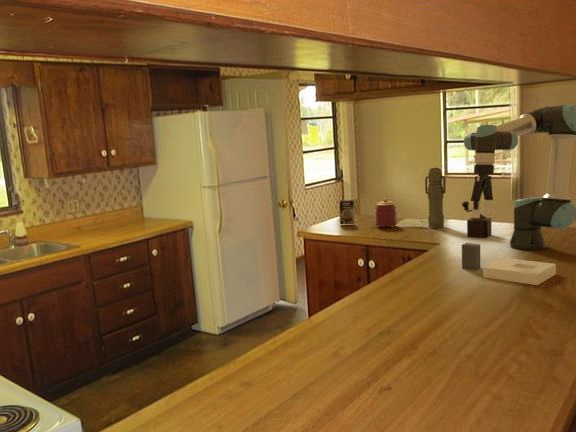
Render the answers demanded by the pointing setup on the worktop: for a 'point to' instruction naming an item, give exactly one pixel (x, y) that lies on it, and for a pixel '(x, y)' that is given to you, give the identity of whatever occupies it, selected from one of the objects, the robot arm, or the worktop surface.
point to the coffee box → (347, 212)
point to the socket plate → (520, 271)
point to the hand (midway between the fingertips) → (481, 216)
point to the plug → (471, 256)
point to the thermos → (435, 197)
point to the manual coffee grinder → (477, 225)
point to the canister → (386, 213)
